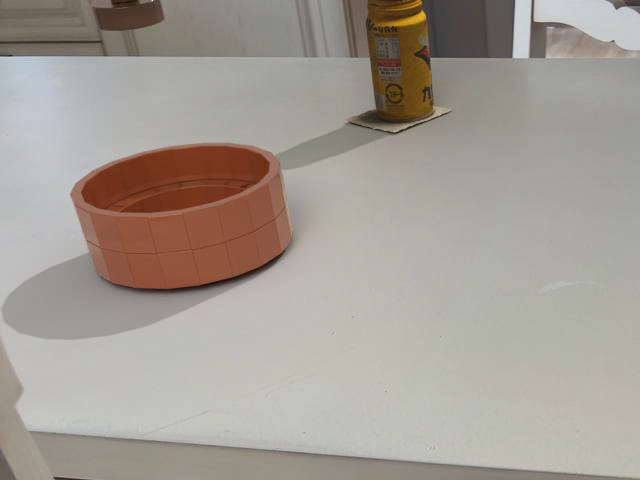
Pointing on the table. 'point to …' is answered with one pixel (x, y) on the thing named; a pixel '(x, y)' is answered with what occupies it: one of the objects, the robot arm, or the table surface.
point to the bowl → (183, 214)
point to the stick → (126, 14)
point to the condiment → (398, 66)
